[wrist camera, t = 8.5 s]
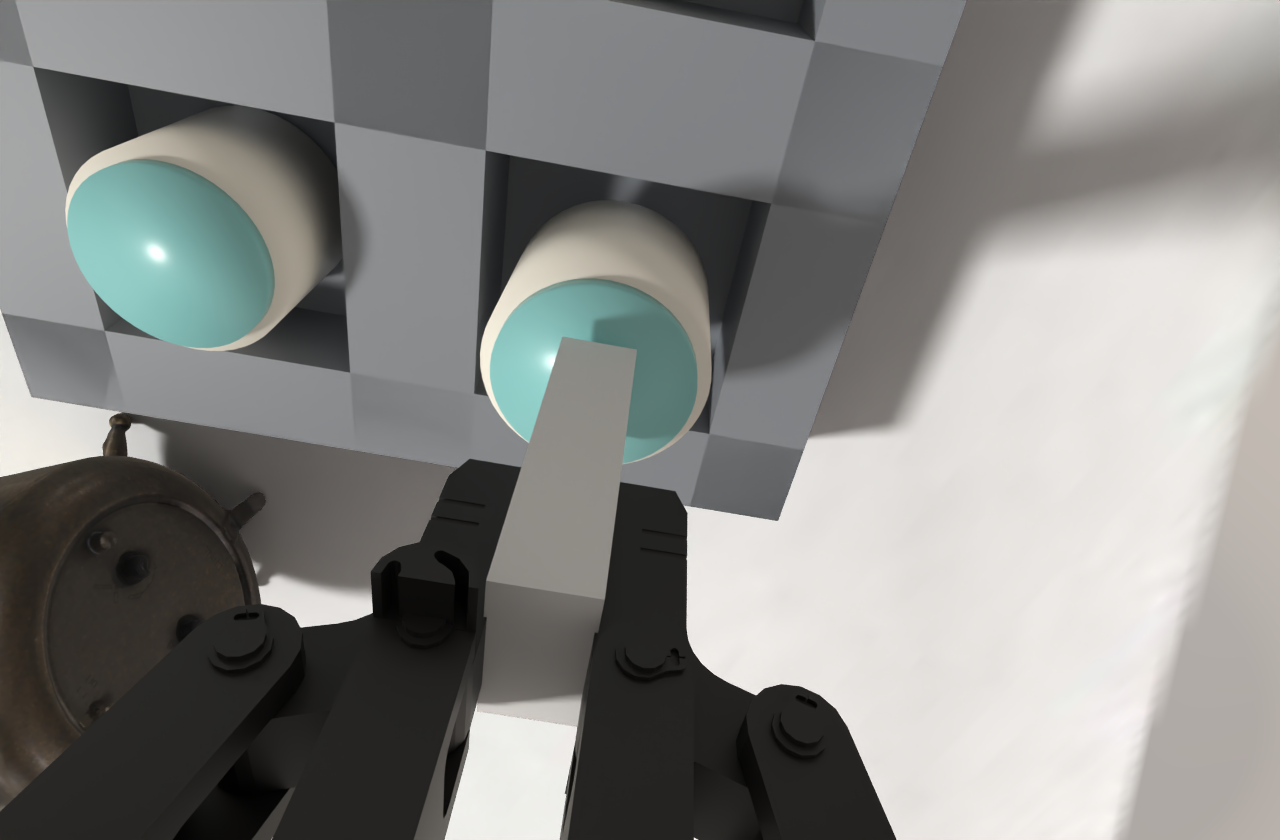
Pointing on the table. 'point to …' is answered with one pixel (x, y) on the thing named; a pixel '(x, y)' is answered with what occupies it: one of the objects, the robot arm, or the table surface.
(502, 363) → the button
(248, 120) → the button
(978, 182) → the table surface
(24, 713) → the alarm clock
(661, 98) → the button board
